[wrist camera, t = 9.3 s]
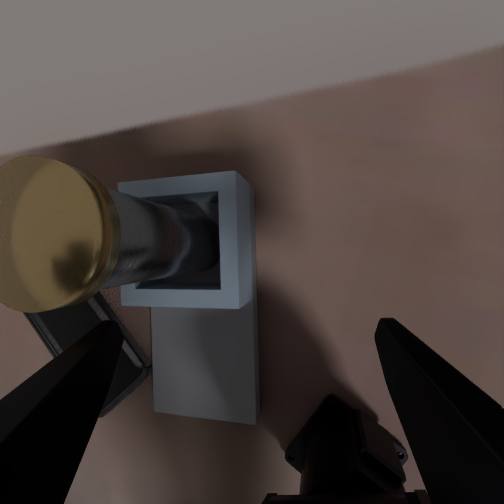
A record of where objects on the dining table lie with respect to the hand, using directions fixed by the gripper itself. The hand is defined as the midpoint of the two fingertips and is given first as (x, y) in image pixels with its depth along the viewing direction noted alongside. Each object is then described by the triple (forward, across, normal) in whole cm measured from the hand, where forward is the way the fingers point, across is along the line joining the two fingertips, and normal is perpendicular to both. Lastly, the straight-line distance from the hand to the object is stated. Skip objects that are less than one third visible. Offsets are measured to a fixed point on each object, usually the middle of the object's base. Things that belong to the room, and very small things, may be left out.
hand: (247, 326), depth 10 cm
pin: (+12, +4, +4) cm, 14 cm away
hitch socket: (+11, +4, +9) cm, 15 cm away
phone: (+12, +17, +14) cm, 24 cm away
